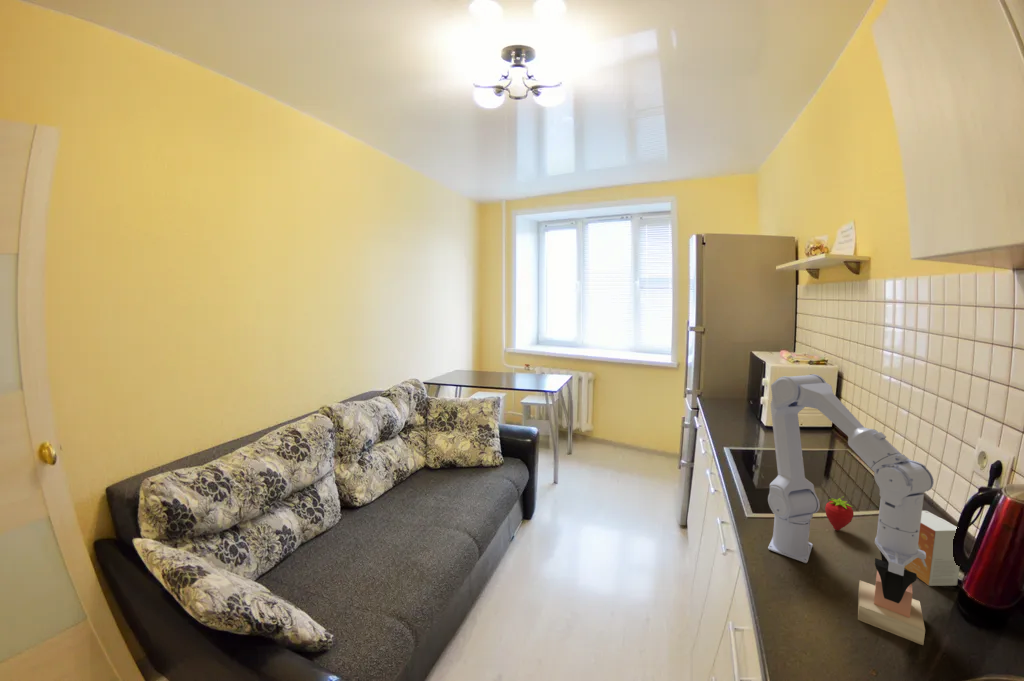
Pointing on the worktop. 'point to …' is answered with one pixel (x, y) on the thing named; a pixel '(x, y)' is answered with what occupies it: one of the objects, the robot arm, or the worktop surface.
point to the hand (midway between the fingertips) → (891, 588)
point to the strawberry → (839, 513)
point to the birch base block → (890, 616)
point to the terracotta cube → (899, 608)
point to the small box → (935, 552)
